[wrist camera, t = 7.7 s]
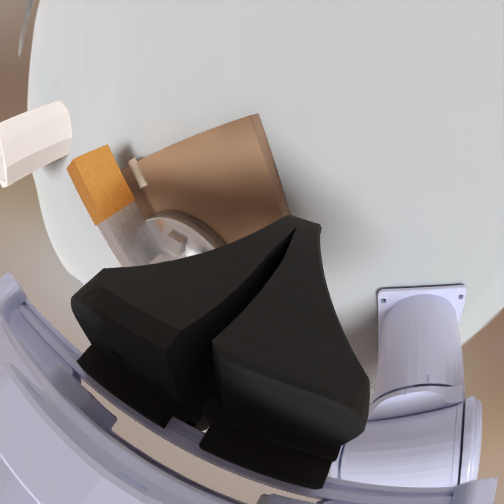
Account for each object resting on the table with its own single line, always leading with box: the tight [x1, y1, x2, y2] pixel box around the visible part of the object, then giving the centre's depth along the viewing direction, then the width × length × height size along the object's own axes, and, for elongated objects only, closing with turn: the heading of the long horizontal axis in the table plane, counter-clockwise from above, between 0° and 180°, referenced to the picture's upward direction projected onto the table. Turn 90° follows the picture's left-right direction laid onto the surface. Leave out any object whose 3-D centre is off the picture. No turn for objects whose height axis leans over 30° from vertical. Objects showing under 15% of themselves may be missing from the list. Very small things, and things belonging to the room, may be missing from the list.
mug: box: [0, 100, 72, 188], centre depth 22 cm, size 12×9×10 cm
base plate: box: [120, 114, 290, 245], centre depth 26 cm, size 22×22×2 cm
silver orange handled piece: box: [67, 144, 225, 267], centre depth 22 cm, size 20×12×6 cm, turn 27°
